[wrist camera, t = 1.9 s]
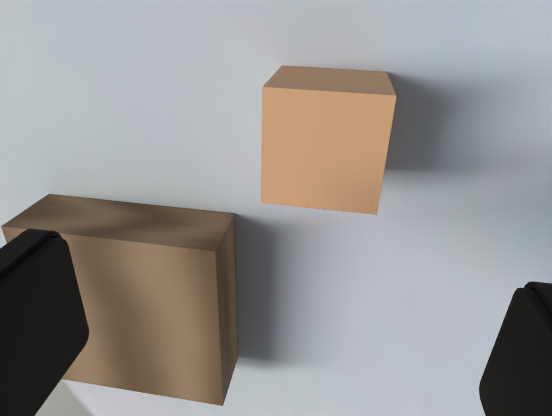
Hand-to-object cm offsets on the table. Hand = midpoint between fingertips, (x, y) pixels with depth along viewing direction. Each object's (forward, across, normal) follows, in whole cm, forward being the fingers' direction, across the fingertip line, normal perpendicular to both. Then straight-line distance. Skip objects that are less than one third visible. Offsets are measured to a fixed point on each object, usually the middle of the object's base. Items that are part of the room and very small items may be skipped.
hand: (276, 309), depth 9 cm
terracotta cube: (+14, -1, 0) cm, 14 cm away
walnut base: (+14, +10, +12) cm, 21 cm away
